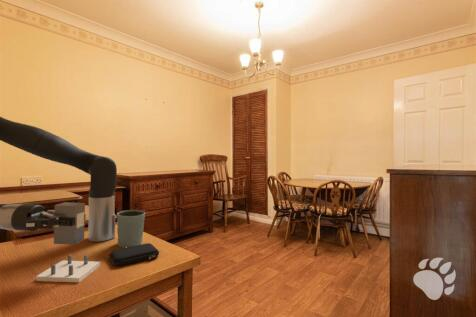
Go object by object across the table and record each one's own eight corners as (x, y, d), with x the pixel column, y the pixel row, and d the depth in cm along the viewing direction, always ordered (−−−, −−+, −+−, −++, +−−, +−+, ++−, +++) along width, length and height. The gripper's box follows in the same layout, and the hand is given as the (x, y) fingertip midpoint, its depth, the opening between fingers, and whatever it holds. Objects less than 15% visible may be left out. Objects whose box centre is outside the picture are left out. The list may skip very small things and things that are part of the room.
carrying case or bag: (114, 271, 75) (162, 259, 84) (114, 261, 75) (162, 250, 84) (107, 258, 83) (151, 249, 92) (107, 249, 83) (151, 240, 92)
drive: (64, 238, 74) (65, 202, 74) (84, 239, 74) (85, 203, 74) (53, 243, 70) (54, 205, 70) (75, 244, 70) (76, 206, 70)
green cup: (117, 240, 99) (117, 210, 99) (144, 237, 103) (144, 209, 103) (115, 250, 90) (116, 217, 89) (145, 246, 94) (145, 215, 93)
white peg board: (62, 264, 78) (62, 252, 78) (100, 265, 78) (100, 253, 78) (35, 280, 68) (35, 267, 68) (79, 282, 68) (79, 269, 68)
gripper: (-3, 210, 65) (61, 212, 65) (41, 199, 79) (94, 202, 79) (-3, 238, 65) (61, 241, 65) (41, 223, 80) (93, 225, 79)
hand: (79, 219), depth 72 cm, fingers closed on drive, 4 cm apart
